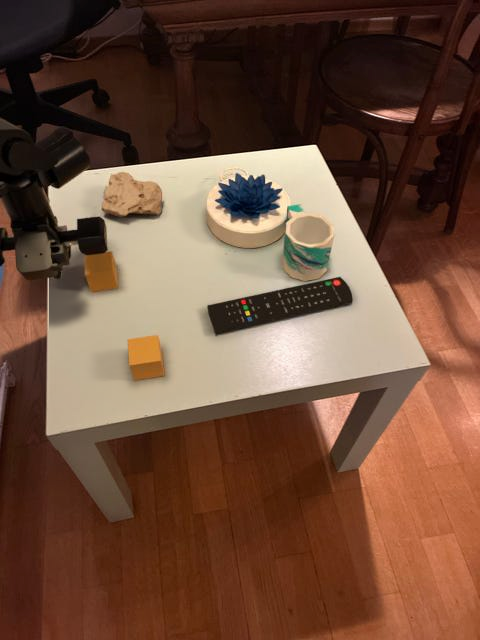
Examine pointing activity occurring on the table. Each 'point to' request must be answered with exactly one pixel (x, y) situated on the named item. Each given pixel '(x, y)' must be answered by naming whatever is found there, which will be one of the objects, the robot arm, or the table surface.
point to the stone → (131, 196)
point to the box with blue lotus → (247, 210)
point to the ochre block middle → (101, 271)
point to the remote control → (279, 304)
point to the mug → (306, 244)
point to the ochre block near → (145, 357)
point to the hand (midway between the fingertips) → (58, 277)
